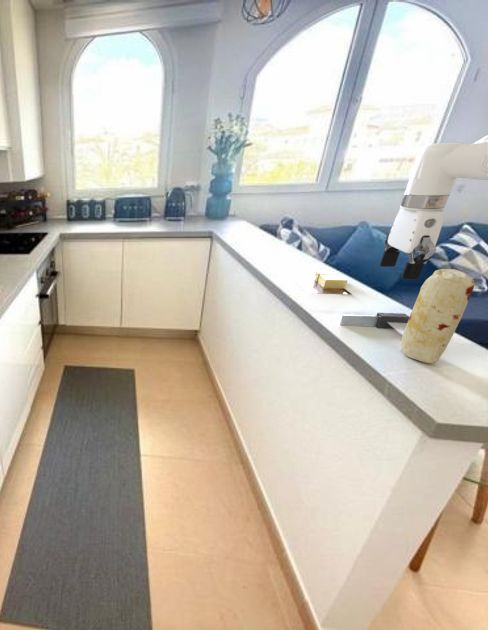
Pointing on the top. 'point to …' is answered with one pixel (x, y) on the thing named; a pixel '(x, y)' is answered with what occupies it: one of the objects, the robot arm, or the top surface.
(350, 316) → the knife
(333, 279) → the butter block
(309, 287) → the board
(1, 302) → the top surface
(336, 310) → the top surface
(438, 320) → the food model
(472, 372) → the top surface
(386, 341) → the top surface
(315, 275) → the butter slice
